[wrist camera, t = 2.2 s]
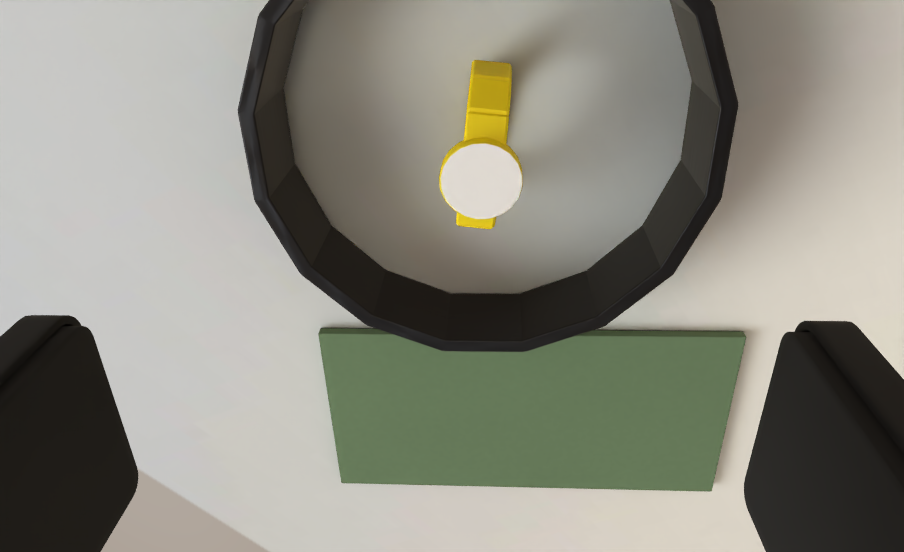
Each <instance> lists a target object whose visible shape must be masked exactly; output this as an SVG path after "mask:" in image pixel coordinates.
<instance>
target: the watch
mask: <svg viewBox="0 0 904 552" xmlns="http://www.w3.org/2000/svg"><path fill="white" fill-rule="evenodd" d="M511 83H512V66H511V65H510V64H509V63H502V62H491V61H481V60H474V61H473V62H472V68H471V76H470V85H469V94H468V104H467V114H466V123H465V133H464V140H463V141H461V142H459V143H458V144H456V145H455V146H454V147H453V148H451V149H450V150H449V152H448V153H447V155H446V156H445V158H444V159H443V162H442V166H441V170H440V175H439V184H440V191H441V193H442V195H443V197H444V200H445V201H446V202H447V204H448V205H449V206H450V207H451V208H452V209H453V210H454V211H456V212H457V218H456V224H457V225H458V226H463V227H473V228H483V229H492V228H493V227H494V225H495V221H496V216H499V215H502V214H503V213H505V212H506V211H507V210H509V209H510V208H511V207H512V206H513V205H514V204H515V202H516V201H517V200H518V198H519V196H520V193H521V190H522V186H523V176H522V167H521V164H520V161H519V159H518V156H517V155H516V154H515V153H514V151H513V150H512V149H511V148H510V147H509V146H508V145H506V142H507V132H508V123H509V112H510V99H511V85H512V84H511Z"/></svg>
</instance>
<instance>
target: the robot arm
mask: <svg viewBox="0 0 904 552" xmlns="http://www.w3.org/2000/svg"><path fill="white" fill-rule="evenodd" d="M137 483H138V470H137V466H136V463H135V460H134V457H133V454H132V451H131V448H130V445H129V442H128V439H127V436H126V433H125V430H124V427H123V424H122V421H121V418H120V415H119V412H118V409H117V406H116V403H115V400H114V397H113V394H112V391H111V388H110V385H109V382H108V379H107V376H106V373H105V370H104V367H103V364H102V361H101V358H100V355H99V352H98V349H97V346H96V343H95V340H94V337H93V335H92V333H91V331H90V330H89V329H88V328H87V327H84V326H81V324H80V322H79V321H78V320H77V319H76V318H74V317H72V316H57V315H31V316H25V317H23V318H22V319H20V320H19V321H17V322H16V323H15V324H14V325H13V326H12V327H11V328H10V329H8V330H7V331H6V332H5V333H4V334H3V335H2V336H1V337H0V552H100V551H101V550H102V548H103V546H104V545H105V543H106V541H107V540H108V538H109V536H110V535H111V533H112V531H113V530H114V528H115V526H116V524H117V523H118V521H119V520H120V518H121V516H122V514H123V513H124V511H125V510H126V508H127V506H128V504H129V503H130V501H131V499H132V498H133V496H134V493H135V491H136V488H137ZM744 495H745V501H746V505H747V508H748V511H749V513H750V516H751V518H752V520H753V523H754V525H755V527H756V530H757V532H758V534H759V537H760V539H761V541H762V544H763V546H764V548H765V551H766V552H904V379H903V378H902V377H901V376H900V375H899V374H898V373H897V371H896V370H895V369H894V368H893V367H892V366H891V365H890V363H889V362H888V361H887V360H886V359H885V358H884V357H883V355H882V354H881V353H880V352H879V351H878V350H877V349H876V347H875V346H874V345H873V344H872V343H871V342H870V341H869V339H868V338H867V337H866V336H865V335H864V334H863V333H862V331H861V330H860V329H859V328H858V327H857V326H856V325H855V324H853V323H852V322H847V321H804V322H801V323H800V324H799V325H798V326H797V328H796V330H795V332H787V333H785V335H784V336H783V337H782V340H781V343H780V347H779V350H778V354H777V358H776V362H775V366H774V370H773V373H772V377H771V381H770V385H769V389H768V393H767V396H766V400H765V404H764V408H763V412H762V416H761V420H760V423H759V427H758V431H757V435H756V439H755V443H754V446H753V450H752V454H751V458H750V462H749V466H748V469H747V473H746V477H745V482H744Z"/></svg>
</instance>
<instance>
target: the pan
mask: <svg viewBox="0 0 904 552" xmlns="http://www.w3.org/2000/svg"><path fill="white" fill-rule="evenodd" d="M308 2H309V0H269V1H268V3H267V4H266V5H265V7H264V8H263V9H262V11H261V12H260V13H259V16H258V19H257V24H256V28H255V33H254V38H253V42H252V47H251V51H250V56H249V61H248V65H247V70H246V74H245V79H244V83H243V88H242V93H241V97H240V102H239V106H238V115H239V121H240V126H241V131H242V137H243V142H244V147H245V152H246V158H247V163H248V168H249V174H250V179H251V184H252V190H253V195H254V200H255V202H256V204H257V205H258V207H259V209H260V210H261V212H262V213H263V215H264V217H265V218H266V220H267V221H268V223H269V225H270V226H271V228H272V229H273V231H274V232H275V234H276V236H277V237H278V239H279V240H280V242H281V244H282V245H283V247H284V248H285V250H286V252H287V253H288V255H289V256H290V258H291V259H292V261H293V263H294V264H295V266H296V267H297V269H298V271H299V272H300V273H301V274H302V275H303V276H304V277H305V278H306V279H308V280H309V281H310V282H312V283H313V284H314V285H315V286H317V287H318V288H319V289H321V290H322V291H323V292H324V293H326V294H327V295H328V296H330V297H331V298H332V299H333V300H335V301H336V302H337V303H339V304H340V305H341V306H343V307H344V308H345V309H346V310H348V311H349V312H350V313H352V314H353V315H354V316H355V317H357V318H358V319H359V320H361V321H362V322H363V323H364V324H366V325H367V326H370V327H373V328H376V329H379V330H382V331H385V332H388V333H391V334H394V335H397V336H400V337H402V338H405V339H408V340H411V341H414V342H417V343H420V344H423V345H426V346H429V347H432V348H435V349H437V350H440V351H463V352H527V351H530V350H533V349H536V348H539V347H542V346H545V345H548V344H552V343H555V342H558V341H561V340H564V339H567V338H570V337H573V336H576V335H580V334H583V333H586V332H589V331H592V330H595V329H598V328H601V327H603V326H605V325H607V324H608V323H609V322H611V321H612V320H613V319H615V318H616V317H617V316H619V315H620V314H621V313H623V312H624V311H625V310H627V309H628V308H629V307H631V306H632V305H633V304H635V303H636V302H637V301H639V300H640V299H641V298H643V297H644V296H645V295H647V294H648V293H649V292H651V291H652V290H653V289H655V288H656V287H657V286H659V285H660V284H661V283H663V282H664V281H665V280H666V279H668V278H669V277H670V276H672V275H673V274H674V272H675V271H676V269H677V268H678V266H679V265H680V263H681V261H682V260H683V258H684V257H685V255H686V254H687V252H688V250H689V249H690V247H691V246H692V244H693V243H694V241H695V239H696V238H697V236H698V235H699V233H700V232H701V230H702V229H703V227H704V225H705V224H706V222H707V221H708V219H709V218H710V216H711V214H712V213H713V211H714V210H715V208H716V207H717V205H718V203H719V202H720V200H721V198H722V193H723V187H724V182H725V176H726V171H727V165H728V160H729V154H730V149H731V143H732V138H733V132H734V126H735V121H736V115H737V110H738V100H737V96H736V92H735V88H734V84H733V80H732V76H731V72H730V68H729V64H728V60H727V55H726V51H725V47H724V43H723V39H722V35H721V31H720V27H719V23H718V19H717V15H716V11H715V7H714V5H713V3H712V2H711V0H670V2H671V6H672V10H673V13H674V17H675V21H676V24H677V28H678V31H679V35H680V39H681V42H682V46H683V50H684V53H685V57H686V60H687V64H688V68H689V71H690V75H691V79H692V86H691V93H690V100H689V107H688V114H687V121H686V128H685V134H684V141H683V148H682V155H681V161H680V162H679V164H678V166H677V167H676V169H675V171H674V172H673V174H672V176H671V178H670V179H669V181H668V183H667V184H666V186H665V188H664V190H663V191H662V193H661V195H660V196H659V198H658V200H657V202H656V203H655V205H654V207H653V208H652V210H651V212H650V214H649V215H648V217H647V219H646V220H645V222H644V224H643V225H642V226H641V227H640V228H639V229H638V230H637V231H635V232H634V233H633V234H632V235H630V236H629V237H628V238H627V239H625V240H624V241H623V242H622V243H620V244H619V245H618V246H617V247H615V248H614V249H613V250H612V251H610V252H609V253H608V254H607V255H606V256H604V257H603V258H602V259H601V260H599V261H598V262H597V263H596V264H594V265H593V266H592V267H591V268H589V269H588V270H587V271H585V272H582V273H579V274H576V275H573V276H570V277H568V278H565V279H562V280H559V281H556V282H553V283H550V284H547V285H544V286H542V287H539V288H536V289H533V290H530V291H527V292H524V293H521V294H451V293H448V292H445V291H442V290H439V289H437V288H434V287H431V286H428V285H425V284H422V283H420V282H417V281H414V280H411V279H408V278H406V277H403V276H400V275H397V274H394V273H392V272H389V271H386V270H384V269H383V268H382V267H381V266H380V265H378V264H377V263H376V262H375V261H373V260H372V259H371V258H370V257H368V256H367V255H366V254H365V253H364V252H362V251H361V250H360V249H359V248H357V247H356V246H355V245H354V244H353V243H351V242H350V241H349V240H348V239H346V238H345V237H344V236H343V235H342V234H340V233H339V232H338V231H337V230H335V229H334V228H333V227H332V226H331V225H330V223H329V221H328V219H327V218H326V216H325V214H324V213H323V211H322V209H321V207H320V206H319V204H318V202H317V201H316V199H315V197H314V195H313V194H312V192H311V190H310V189H309V187H308V185H307V183H306V182H305V180H304V178H303V177H302V175H301V173H300V171H299V170H298V168H297V166H296V165H295V161H294V154H293V148H292V141H291V135H290V128H289V122H288V115H287V108H286V102H285V95H284V89H283V87H284V83H285V79H286V75H287V71H288V67H289V63H290V59H291V55H292V51H293V47H294V43H295V39H296V35H297V31H298V27H299V23H300V19H301V15H302V11H303V8H304V7H305V6H306V4H307V3H308Z"/></svg>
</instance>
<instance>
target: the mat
mask: <svg viewBox="0 0 904 552" xmlns="http://www.w3.org/2000/svg"><path fill="white" fill-rule="evenodd" d="M745 340H746V336H745V334H744V333H743V332H740V331H610V330H592V331H589V332H586V333H583V334H580V335H576V336H573V337H570V338H567V339H564V340H561V341H558V342H555V343H552V344H548V345H545V346H542V347H539V348H536V349H533V350H530V351H527V352H463V351H440V350H437V349H435V348H432V347H429V346H426V345H423V344H420V343H417V342H414V341H411V340H408V339H405V338H402V337H400V336H397V335H394V334H391V333H388V332H385V331H382V330H379V329H350V328H321V329H320V331H319V341H320V347H321V354H322V360H323V366H324V373H325V379H326V386H327V392H328V399H329V405H330V412H331V418H332V425H333V431H334V438H335V444H336V451H337V457H338V463H339V470H340V476H341V482H342V483H364V484H407V485H451V486H495V487H539V488H583V489H626V490H670V491H712V487H713V482H714V478H715V474H716V469H717V465H718V460H719V456H720V451H721V447H722V442H723V438H724V434H725V429H726V425H727V420H728V416H729V411H730V407H731V402H732V398H733V394H734V389H735V385H736V380H737V376H738V371H739V367H740V362H741V358H742V354H743V349H744V345H745Z"/></svg>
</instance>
